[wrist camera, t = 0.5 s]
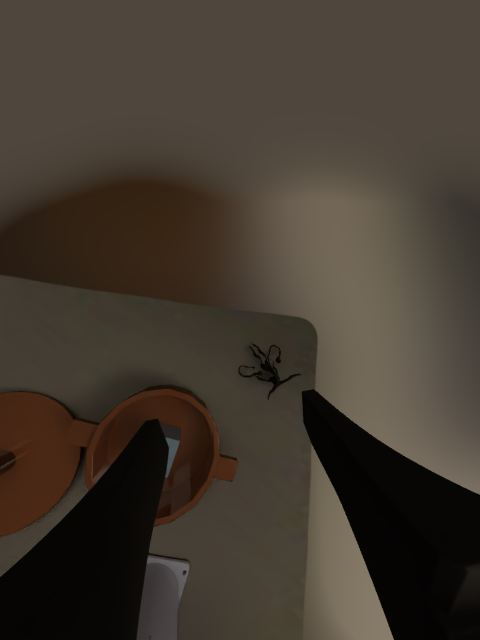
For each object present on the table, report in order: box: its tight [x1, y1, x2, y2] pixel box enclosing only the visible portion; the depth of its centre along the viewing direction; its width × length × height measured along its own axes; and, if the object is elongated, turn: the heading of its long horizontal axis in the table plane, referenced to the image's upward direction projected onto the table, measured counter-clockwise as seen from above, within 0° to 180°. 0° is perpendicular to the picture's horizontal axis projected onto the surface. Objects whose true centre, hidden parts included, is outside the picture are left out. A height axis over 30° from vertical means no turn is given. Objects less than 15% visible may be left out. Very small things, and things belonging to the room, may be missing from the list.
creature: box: [239, 344, 301, 400], centre depth 34 cm, size 8×5×8 cm
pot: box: [64, 385, 238, 527], centre depth 28 cm, size 14×20×6 cm
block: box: [160, 423, 181, 478], centre depth 28 cm, size 4×4×5 cm
